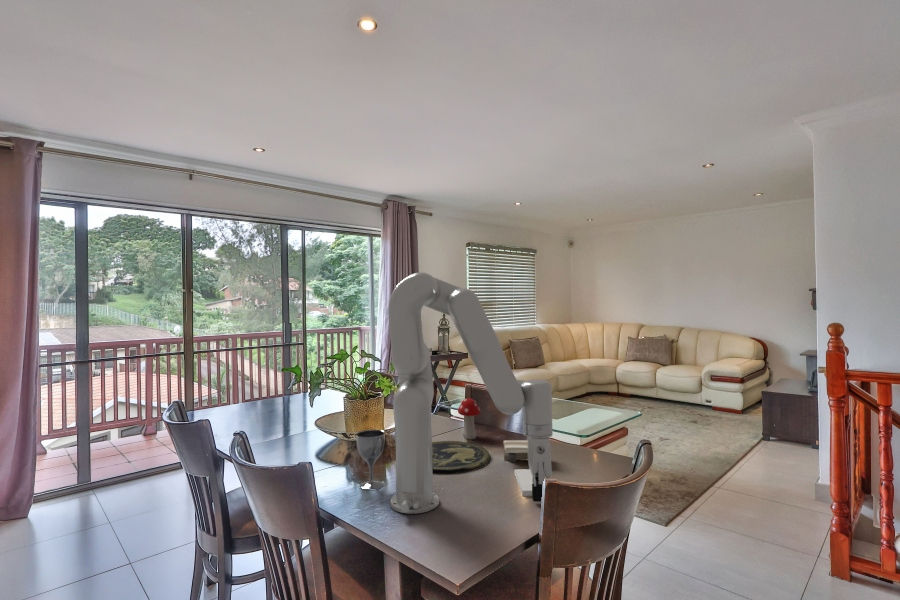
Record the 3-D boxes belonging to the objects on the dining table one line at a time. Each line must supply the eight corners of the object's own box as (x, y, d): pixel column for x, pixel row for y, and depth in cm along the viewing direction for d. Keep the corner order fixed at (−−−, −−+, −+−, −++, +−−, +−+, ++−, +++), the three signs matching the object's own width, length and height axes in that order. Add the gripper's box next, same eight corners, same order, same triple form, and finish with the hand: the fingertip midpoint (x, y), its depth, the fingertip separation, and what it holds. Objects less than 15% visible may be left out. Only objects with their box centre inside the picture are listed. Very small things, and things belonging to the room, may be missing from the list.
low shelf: (547, 467, 146) (546, 447, 146) (505, 467, 146) (505, 447, 146) (543, 458, 154) (542, 440, 154) (503, 458, 154) (503, 440, 154)
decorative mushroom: (455, 434, 183) (454, 396, 183) (475, 432, 186) (474, 395, 186) (463, 441, 174) (462, 401, 174) (484, 439, 176) (484, 400, 176)
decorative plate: (388, 466, 144) (414, 438, 174) (388, 472, 144) (414, 443, 174) (484, 472, 138) (494, 442, 168) (484, 478, 138) (494, 447, 168)
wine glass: (391, 484, 133) (390, 432, 133) (369, 493, 127) (368, 438, 127) (373, 478, 139) (372, 428, 139) (351, 486, 133) (350, 433, 133)
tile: (552, 497, 124) (552, 490, 124) (522, 498, 124) (522, 490, 124) (541, 475, 140) (541, 469, 140) (514, 476, 140) (514, 469, 140)
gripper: (557, 437, 112) (559, 513, 111) (547, 421, 127) (548, 488, 126) (526, 437, 112) (527, 513, 112) (519, 421, 127) (521, 488, 127)
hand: (538, 500), depth 119 cm, fingers closed
